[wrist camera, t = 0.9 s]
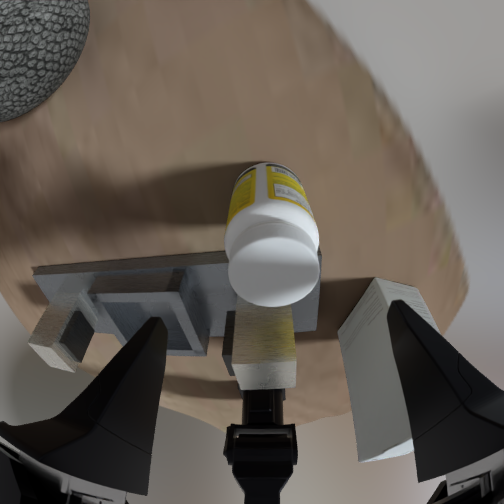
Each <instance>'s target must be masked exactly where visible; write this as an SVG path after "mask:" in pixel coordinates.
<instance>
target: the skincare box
mask: <svg viewBox="0 0 504 504" xmlns="http://www.w3.org/2000/svg"><path fill="white" fill-rule="evenodd" d="M398 299H402V300H403V301H404V302H405V303H407V304H408V305H409V306H410V307H411V308H412V309H413V310H414V311H416V312H417V313H418V314H419V315H420V316H421V317H422V318H423V319H424V320H425V321H427V322H428V323H429V324H430V325H431V326H432V327H433V328H434V329H435V330H436V331H437V332H438V333H439V334H440V332H439V330H438V328H437V325H436V323H435V321H434V319H433V317H432V315H431V313H430V311H429V310H428V308H427V306H426V304H425V302H424V300H423V298H422V296H421V294H420V292H419V291H418V289H417V288H415V287H412V286H408V285H404V284H400V283H396V282H392V281H389V280H384V279H380V278H376V277H375V278H374V279H373V281H372V282H371V284H370V285H369V287H368V288H367V290H366V291H365V293H364V295H363V296H362V298H361V299H360V300H359V302H358V303H357V305H356V306H355V308H354V309H353V311H352V312H351V313H350V315H349V316H348V318H347V319H346V321H345V322H344V324H343V325H342V326H341V327H340V329H339V330H338V332H337V333H338V337H339V342H340V347H341V352H342V357H343V362H344V367H345V373H346V378H347V383H348V389H349V395H350V401H351V408H352V413H353V421H354V428H355V435H356V442H357V451H358V461H359V462H368V461H375V460H381V459H386V458H390V457H395V456H401V455H405V454H408V453H410V452H412V451H414V447H413V440H412V434H411V429H410V423H409V418H408V413H407V408H406V404H405V399H404V395H403V390H402V386H401V382H400V378H399V374H398V370H397V366H396V363H395V359H394V355H393V351H392V345H391V339H390V334H389V328H388V323H387V312H388V310H389V307H390V304H391V302H392V301H393V300H398Z"/></svg>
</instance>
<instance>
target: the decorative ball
mask: <svg viewBox="0 0 504 504" xmlns="http://www.w3.org/2000/svg"><path fill="white" fill-rule="evenodd" d="M89 23H90V10H89V4H88V0H0V122H4V121H8V120H11V119H14V118H16V117H19V116H21V115H23V114H25V113H27V112H29V111H30V110H32V109H33V108H35V107H36V106H38V105H39V104H41V103H42V102H43V101H44V100H46V99H47V98H48V97H49V96H50V95H51V94H52V93H54V92H55V91H56V90H57V89H58V88H59V87H60V85H61V84H62V83H63V82H64V81H65V79H66V78H67V77H68V75H69V74H70V73H71V71H72V69H73V68H74V66H75V65H76V63H77V61H78V59H79V57H80V55H81V53H82V50H83V48H84V45H85V42H86V39H87V35H88V30H89Z"/></svg>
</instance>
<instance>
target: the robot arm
mask: <svg viewBox="0 0 504 504" xmlns="http://www.w3.org/2000/svg"><path fill="white" fill-rule="evenodd" d="M387 323H388V328H389V334H390V339H391V345H392V351H393V355H394V359H395V363H396V366H397V370H398V374H399V378H400V382H401V386H402V390H403V395H404V399H405V404H406V408H407V413H408V418H409V423H410V429H411V434H412V440H413V447H414V453H415V460H416V468H417V477H418V482H419V483H420V482H423V481H426V480H430V479H433V478H436V477H439V476H442V475H445V474H446V480H444V481H442V482H441V483H440V484H439V486H438V487H437V489H436V491H435V492H434V494H433V495H432V497H431V498H430V500H429V501H428V502H427V504H504V391H503V390H501V389H500V388H498V387H497V386H496V385H495V384H494V383H492V382H491V381H490V380H489V379H488V378H487V377H485V376H484V375H483V374H482V373H480V372H479V371H478V370H477V369H476V368H475V367H474V366H473V365H472V364H470V363H469V362H468V361H467V360H466V359H465V358H464V357H463V356H462V355H461V354H460V353H458V351H457V350H456V349H455V348H454V347H453V346H452V345H451V344H450V343H449V342H448V341H447V340H446V339H445V338H444V337H443V336H442V335H441V334H439V333H438V332H437V331H436V330H435V329H434V328H433V327H432V326H431V325H430V324H429V323H428V322H427V321H425V320H424V319H423V318H422V317H421V316H420V315H419V314H418V313H417V312H416V311H414V310H413V309H412V308H411V307H410V306H409V305H408V304H407V303H405V302H404V301H403V300H402V299H398V300H393V301H392V302H391V304H390V307H389V310H388V312H387ZM167 341H168V330H167V328H166V326H165V324H164V322H163V320H162V318H161V317H150V318H149V319H148V320H147V321H146V322H145V323H144V324H143V325H142V327H141V328H140V329H139V330H138V331H137V332H136V333H135V334H134V335H133V336H132V337H131V339H130V340H129V341H128V342H127V343H126V344H125V345H124V346H123V347H122V348H121V350H120V351H119V352H118V353H117V354H116V355H115V356H114V357H113V359H112V360H111V361H110V362H109V363H108V364H107V365H106V366H105V368H104V369H103V370H102V371H101V372H100V373H99V374H98V376H96V378H95V379H94V380H93V381H92V382H91V383H90V385H88V387H87V388H86V389H85V390H84V391H83V392H82V393H81V394H80V395H79V396H78V397H77V398H76V399H75V400H74V401H73V402H71V403H70V404H69V405H68V406H67V407H66V408H65V409H64V410H63V411H62V412H61V413H60V414H58V415H57V416H55V417H53V418H51V419H48V420H43V421H38V422H34V423H29V424H24V425H18V426H11V425H8V424H7V423H6V422H4V421H1V422H0V436H1V437H2V438H4V439H5V440H7V441H8V442H9V443H11V444H12V445H13V446H15V447H16V448H18V449H19V450H20V453H19V452H17V451H16V450H14V449H12V448H10V447H8V446H7V445H5V444H3V443H2V442H0V504H129V503H128V502H127V500H126V494H127V492H130V493H135V494H139V495H145V496H147V494H148V483H149V473H150V464H151V456H152V455H151V454H152V446H153V440H154V433H155V426H156V418H157V413H158V406H159V400H160V394H161V389H162V383H163V378H164V372H165V365H166V353H167ZM238 389H239V392H240V394H241V397H242V399H243V408H242V425H237V424H231V426H229V427H227V433H226V441H225V446H224V451H223V455H224V456H225V457H226V458H227V461H228V465H232V473H233V475H234V478H235V480H236V481H237V483H238V485H239V486H240V488H241V489H242V491H243V492H244V494H245V500H244V504H280V492H281V490H282V489H283V487H284V486H285V484H286V483H287V481H288V480H289V478H290V477H291V475H292V473H293V465H297V458H298V450H297V440H296V430H295V424H288V425H283V401H284V400H285V388H280V389H259V390H241V389H240V386H239V383H238ZM237 436H239V437H238V438H237ZM287 436H288V437H287Z"/></svg>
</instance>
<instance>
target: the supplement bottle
mask: <svg viewBox="0 0 504 504" xmlns="http://www.w3.org/2000/svg"><path fill="white" fill-rule="evenodd" d="M224 245H225V251H226V254H227V257H228V259H229V266H228V277H229V281H230V284H231V286H232V288H233V289H234V291H235V292H236V293H237V294H238V295H239V296H240V297H242V298H243V299H245V300H246V301H248V302H250V303H253V304H256V305H259V306H266V307H279V306H285V305H289V304H292V303H294V302H297V301H299V300H300V299H302V298H304V297H305V296H306V295H307V294H308V293H310V292H311V291H312V289H313V288H314V287H315V285H316V283H317V281H318V278H319V272H320V267H319V261H318V256H317V250H318V245H319V234H318V229H317V226H316V223H315V220H314V217H313V214H312V211H311V209H310V206H309V203H308V200H307V198H306V195H305V192H304V190H303V187H302V184H301V182H300V180H299V179H298V177H297V176H296V175H295V173H294V172H293V171H291V170H290V169H289V168H287V167H285V166H283V165H280V164H277V163H260V164H257V165H254V166H252V167H250V168H248V169H246V170H245V171H244V172H243V173H242V174H241V175H240V176H239V177H238V179H237V180H236V182H235V185H234V188H233V192H232V197H231V202H230V208H229V213H228V219H227V224H226V230H225V236H224Z"/></svg>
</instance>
